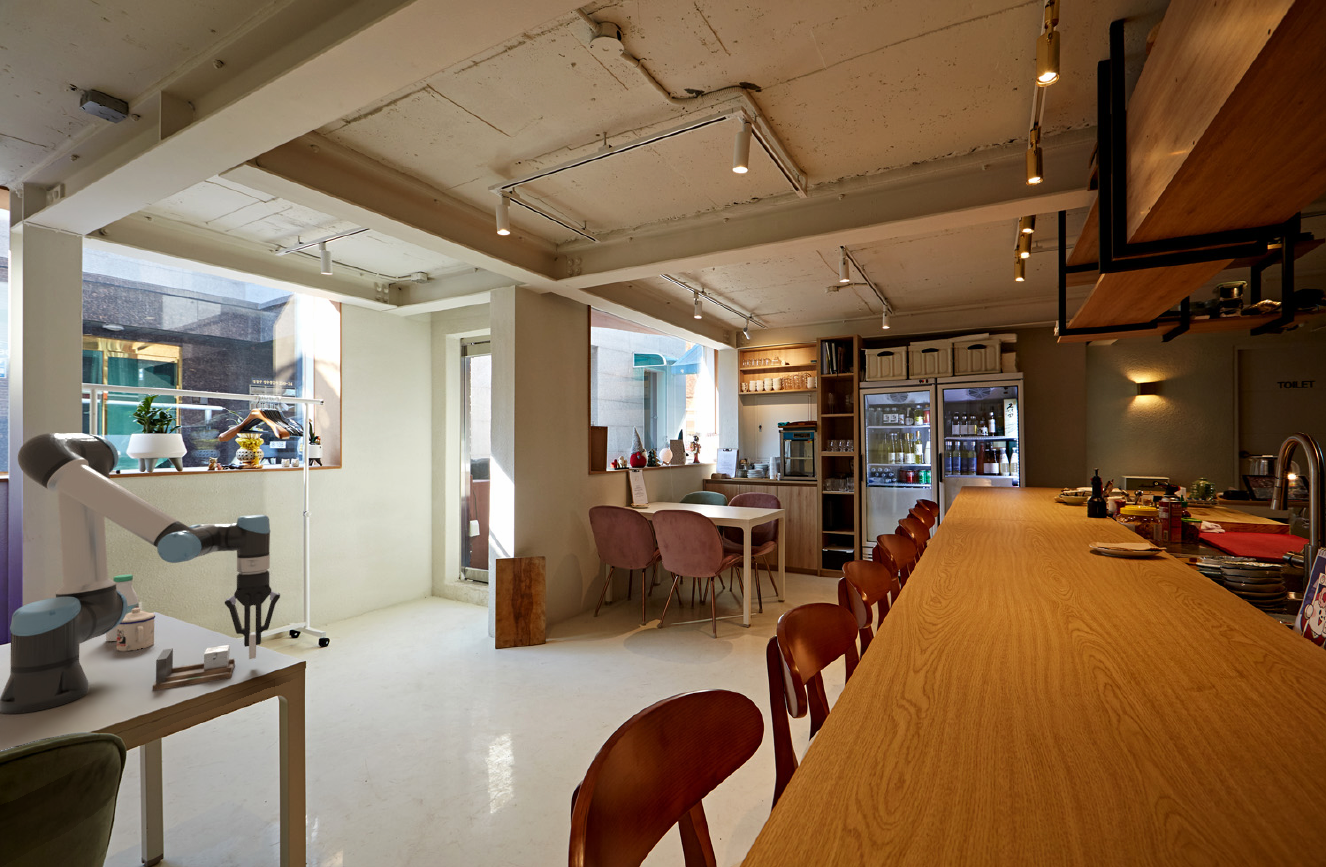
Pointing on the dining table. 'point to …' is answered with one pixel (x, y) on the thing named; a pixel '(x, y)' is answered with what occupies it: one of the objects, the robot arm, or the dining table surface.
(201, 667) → the gauge board
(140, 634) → the teacup with lid
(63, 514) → the robot arm
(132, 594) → the milk bottle
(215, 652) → the white box
